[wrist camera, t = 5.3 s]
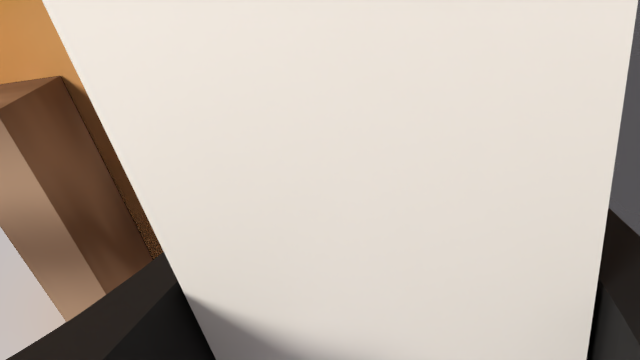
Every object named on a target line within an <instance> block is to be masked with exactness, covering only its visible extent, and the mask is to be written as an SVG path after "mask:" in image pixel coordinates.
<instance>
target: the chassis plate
mask: <svg viewBox="0 0 640 360" xmlns="http://www.w3.org/2000/svg"><path fill="white" fill-rule="evenodd" d="M608 207H609V208H610V209H611V210H612V211H613V212H614V213H615V214H616V215H618V216H619V217H620V218H621V219H622V220H623V221H624V222H625V223H626V224H627V225H628V226H629V227H631V228H632V229H633V230H634V231H635V232H636V233H637V234H638V235H639V236H640V0H638V5H637V12H636V19H635V26H634V33H633V40H632V47H631V54H630V60H629V67H628V74H627V81H626V88H625V95H624V102H623V109H622V116H621V123H620V130H619V137H618V144H617V151H616V158H615V165H614V172H613V178H612V185H611V192H610V199H609V206H608Z"/></svg>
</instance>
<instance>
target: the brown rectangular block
mask: <svg viewBox="0 0 640 360" xmlns="http://www.w3.org/2000/svg"><path fill="white" fill-rule="evenodd" d="M0 227H1V228H2V229H3V231H4V232H5V234H6V235H7V237H8V238H9V240H10V241H11V242H12V244H13V245H14V247H15V248H16V250H17V251H18V253H19V254H20V255H21V257H22V258H23V260H24V261H25V263H26V264H27V265H28V267H29V269H30V270H31V271H32V272H33V274H34V276H35V277H36V278H37V280H38V282H39V283H40V284H41V286H42V287H43V289H44V290H45V292H46V293H47V295H48V296H49V297H50V299H51V300H52V302H53V303H54V305H55V306H56V308H57V309H58V311H59V312H60V313H61V315H62V316H63V318H64V319H65V321H66V322H68V321H69V320H71V319H72V318H74V317H75V316H77V315H78V314H80V313H81V312H82V311H84V310H85V309H87V308H88V307H90V306H91V305H92V304H94V303H95V302H97V301H98V300H99V299H101V298H102V297H104V296H105V295H106V294H108V293H109V292H110V291H112V290H113V289H115V288H116V287H117V286H119V285H120V284H122V283H123V282H124V281H126V280H127V279H129V278H130V277H131V276H133V275H134V274H135V273H137V272H138V271H140V270H141V269H142V268H143V267H145V266H146V265H147V264H149V263H150V262H151V261H153V259H152V257H151V255H150V253H149V251H148V249H147V247H146V245H145V243H144V241H143V239H142V237H141V235H140V233H139V232H138V230H137V228H136V226H135V224H134V222H133V220H132V218H131V216H130V214H129V212H128V210H127V208H126V206H125V204H124V202H123V200H122V198H121V196H120V194H119V192H118V190H117V188H116V186H115V184H114V182H113V180H112V178H111V176H110V174H109V172H108V170H107V168H106V166H105V164H104V162H103V160H102V158H101V156H100V154H99V152H98V150H97V148H96V146H95V144H94V142H93V140H92V138H91V136H90V134H89V132H88V130H87V128H86V126H85V125H84V123H83V121H82V119H81V117H80V115H79V113H78V111H77V109H76V107H75V105H74V103H73V101H72V99H71V97H70V95H69V93H68V91H67V89H66V87H65V85H64V83H63V81H62V79H61V77H60V76H56V77H49V78H42V79H35V80H28V81H21V82H14V83H7V84H0Z"/></svg>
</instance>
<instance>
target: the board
mask: <svg viewBox="0 0 640 360" xmlns="http://www.w3.org/2000/svg"><path fill="white" fill-rule="evenodd" d="M42 1H43V3H44V5H45V7H46V9H47V11H48V14H49V16H50V18H51V20H52V22H53V24H54V26H55V28H56V30H57V32H58V34H59V36H60V38H61V40H62V42H63V45H64V47H65V49H66V51H67V53H68V55H69V57H70V59H71V61H72V63H73V65H74V67H75V69H76V71H77V73H78V76H79V78H80V80H81V82H82V84H83V86H84V88H85V90H86V92H87V94H88V96H89V98H90V100H91V102H92V104H93V106H94V109H95V111H96V113H97V115H98V117H99V119H100V121H101V123H102V125H103V127H104V129H105V131H106V133H107V135H108V137H109V140H110V142H111V144H112V146H113V148H114V150H115V152H116V154H117V156H118V158H119V160H120V162H121V164H122V166H123V168H124V171H125V173H126V175H127V177H128V179H129V181H130V183H131V185H132V187H133V189H134V191H135V193H136V195H137V197H138V199H139V201H140V204H141V206H142V208H143V210H144V212H145V214H146V216H147V218H148V220H149V222H150V224H151V226H152V228H153V230H154V232H155V235H156V237H157V239H158V241H159V243H160V245H161V247H162V249H163V251H164V253H165V255H166V257H167V259H168V261H169V263H170V266H171V268H172V270H173V272H174V274H175V276H176V278H177V280H178V282H179V284H180V286H181V288H182V290H183V292H184V294H185V297H186V299H187V301H188V303H189V305H190V307H191V309H192V311H193V313H194V315H195V317H196V319H197V321H198V323H199V325H200V327H201V330H202V332H203V334H204V336H205V338H206V340H207V342H208V344H209V346H210V348H211V350H212V352H213V354H214V356H215V358H216V360H586V359H587V352H588V345H589V338H590V331H591V324H592V317H593V310H594V303H595V297H596V290H597V283H598V276H599V269H600V262H601V255H602V248H603V241H604V234H605V227H606V220H607V213H608V206H609V199H610V192H611V185H612V178H613V172H614V165H615V158H616V151H617V144H618V137H619V130H620V123H621V116H622V109H623V102H624V95H625V88H626V81H627V74H628V67H629V60H630V54H631V47H632V40H633V33H634V26H635V19H636V12H637V5H638V0H42Z"/></svg>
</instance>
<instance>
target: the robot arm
mask: <svg viewBox="0 0 640 360" xmlns="http://www.w3.org/2000/svg"><path fill="white" fill-rule="evenodd" d="M6 360H216V358H215V356H214V354H213V352H212V350H211V348H210V346H209V344H208V342H207V340H206V338H205V336H204V334H203V332H202V330H201V327H200V325H199V323H198V321H197V319H196V317H195V315H194V313H193V311H192V309H191V307H190V305H189V303H188V301H187V299H186V297H185V294H184V292H183V290H182V288H181V286H180V284H179V282H178V280H177V278H176V276H175V274H174V272H173V270H172V268H171V266H170V263H169V261H168V259H167V257H166V255H165V253H164V252H163V253H162V254H160V255H159V256H158V257H156V258H155V259H154V260H153V261H151V262H150V263H149V264H147V265H146V266H145V267H143V268H142V269H141V270H140V271H138V272H137V273H135V274H134V275H133V276H131V277H130V278H129V279H127V280H126V281H124V282H123V283H122V284H120V285H119V286H117V287H116V288H115V289H113V290H112V291H110V292H109V293H108V294H106V295H105V296H104V297H102V298H101V299H99V300H98V301H97V302H95V303H94V304H92V305H91V306H90V307H88V308H87V309H85V310H84V311H82V312H81V313H80V314H78V315H77V316H75V317H74V318H72V319H71V320H69V321H68V322H66V323H64V324H63V325H61V326H60V327H59V328H57V329H55V330H54V331H52V332H50V333H49V334H47V335H46V336H44V337H43V338H41V339H39V340H38V341H36V342H34V343H33V344H31V345H30V346H28V347H26V348H25V349H23V350H21V351H20V352H18V353H16V354H15V355H13V356H12V357H10V358H8V359H6ZM586 360H640V236H639V235H638V234H637V233H636V232H635V231H634V230H633V229H632V228H631V227H629V226H628V225H627V224H626V223H625V222H624V221H623V220H622V219H621V218H620V217H619V216H618V215H616V214H615V213H614V212H613V211H612V210H611V209H610V208H609V207H608V213H607V220H606V227H605V234H604V241H603V248H602V255H601V262H600V269H599V276H598V283H597V290H596V297H595V303H594V310H593V317H592V324H591V331H590V338H589V345H588V352H587V359H586Z"/></svg>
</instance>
